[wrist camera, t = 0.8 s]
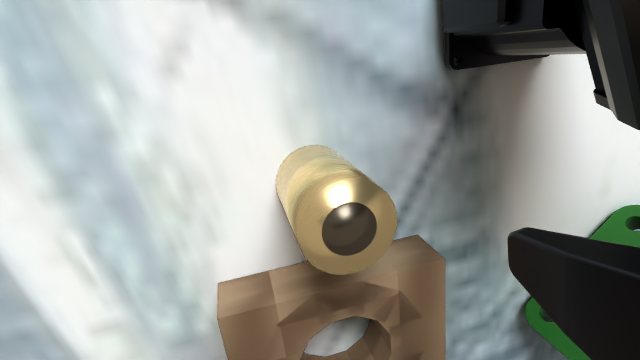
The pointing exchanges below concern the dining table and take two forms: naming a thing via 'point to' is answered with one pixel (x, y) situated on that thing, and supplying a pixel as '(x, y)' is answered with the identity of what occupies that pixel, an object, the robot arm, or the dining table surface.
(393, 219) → the brass sleeve
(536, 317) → the clamp
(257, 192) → the dining table surface
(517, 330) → the dining table surface
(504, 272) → the dining table surface
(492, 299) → the dining table surface
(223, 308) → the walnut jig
